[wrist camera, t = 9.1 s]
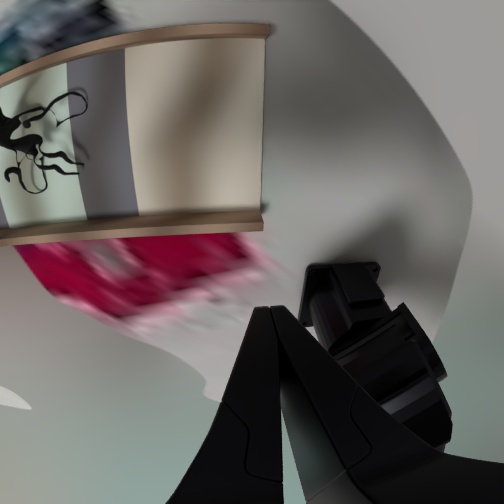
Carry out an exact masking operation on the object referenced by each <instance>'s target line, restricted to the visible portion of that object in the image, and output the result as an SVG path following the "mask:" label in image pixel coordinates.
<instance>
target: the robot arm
mask: <svg viewBox="0 0 504 504" xmlns="http://www.w3.org/2000/svg"><path fill="white" fill-rule="evenodd" d="M375 267H376V268H375ZM374 268H375V269H374ZM380 268H381V267H380V265H379V264H378V263H377V262H366V263H346V264H334V265H317V266H310V267H308V268H307V270H306V273H305V280H304V286H303V292H302V298H301V304H300V310H299V316H298V320H297V319H296V318H295V316H294V315H293V314H292V313H291V312H290V311H289V310H288V309H287V308H286V307H285V306H283V305H278V306H271V307H270V308H269V307H268V306H262V307H255V308H254V310H253V313H252V316H251V318H250V321H249V324H248V327H247V330H246V333H245V336H244V339H243V341H242V344H241V347H240V350H239V353H238V356H237V358H236V361H235V364H234V367H233V370H232V372H231V375H230V378H229V381H228V383H227V386H226V389H225V392H224V395H223V397H222V402H221V403H220V405H219V408H218V410H217V413H216V416H215V418H214V421H213V423H212V425H211V428H210V430H209V432H208V434H207V436H206V438H205V440H204V442H203V444H202V446H201V448H200V449H199V451H198V453H197V455H196V456H195V458H194V460H193V462H192V463H191V465H190V467H189V468H188V470H187V472H186V474H185V475H184V477H183V478H182V480H181V482H180V484H179V485H178V487H177V488H176V490H175V491H174V493H173V494H172V496H171V497H170V498H169V500H168V501H167V502H166V503H165V504H284V498H283V483H282V482H283V461H282V428H281V409H282V414H283V418H284V421H285V425H286V429H287V433H288V436H289V440H290V444H291V448H292V452H293V455H294V459H295V463H296V467H297V470H298V474H299V478H300V482H301V485H302V489H303V493H304V496H305V500H306V501H307V502H306V504H504V463H497V462H489V461H483V460H477V459H471V458H465V457H460V456H455V455H450V454H446V453H444V449H445V445H446V444H447V443H448V442H450V440H451V434H452V425H453V424H452V421H451V414H452V412H451V409H450V407H449V405H448V402H447V400H446V398H445V396H444V394H443V392H442V390H441V387H440V385H439V383H438V382H440V381H442V380H443V379H444V378H446V377H447V373H446V370H445V368H444V366H443V363H442V361H441V359H440V358H439V355H438V354H437V352H436V350H435V348H434V346H433V345H432V343H431V341H430V340H429V338H428V336H427V335H426V333H425V332H424V330H423V329H422V328H421V326H420V325H419V323H418V322H417V320H416V319H415V317H414V316H413V315H412V313H411V312H410V310H409V309H408V308H407V306H406V305H405V304H404V302H403V303H401V304H400V305H399V306H397V307H398V308H396V309H395V310H394V311H391V309H390V308H389V306H388V304H387V303H386V301H385V299H384V297H385V296H384V294H383V292H382V291H381V289H380V287H379V286H378V284H377V283H376V281H377V278H378V275H379V272H380ZM313 271H315V272H314V273H312V274H311V272H313ZM311 326H314V329H315V332H316V335H317V338H318V341H319V342H318V341H317V340H316V339H315V338H314V337H313V336H312V335H311V333H310V332H309V331H308V330H307V329H306V328H305V327H311Z"/></svg>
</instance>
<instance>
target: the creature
mask: <svg viewBox="0 0 504 504" xmlns="http://www.w3.org/2000/svg"><path fill="white" fill-rule="evenodd" d="M70 94H71V95H76V96H80V97H82V99H83V100H84V101H85V103H86V109H85V110H84V112H83V113H85V112H86V110H87V101H86V99H85V98H84V96H83V95H81V94H80V93H78V92H67V93H65V94H63V95H60V96H58V97H57V98H55V99H54V100H52V101H51V102H50V104H49V105H48V106H47V108H46V109H44V108H43V107H42V106H39V107H35V108H33V109H30V110H27V111H25V112H22V113H20V114H18V115H16V116H14V117H13V118H9V117H6V116H5V115H3V113H2V109H1V107H0V146H1V147H4V148H6V149H9V150H12V151H14V152H16V161H17V151H21V152H23V153H25V154H26V155H25V156H26V157H27V154H28V155H32V156H33V159H30V160H34V163H35V165H36V166H37V167H38V168H39V169H42V173H43V177H44V180H45V183H46V186H45V189H43V190H42V191H41V192H36V193H34V192H31V191H28V190H27V189H26V187H25V185H24V183H23V181H22V173H21V169H20V164H21V162H18V161H17V165H18V167H9V168H7V169H6V170H5V172H4V177H5V179H6V180H7V181H8V182H9V183H10V177H9V174H10V173H15V174H17V175H18V179H19V183H20V184H21V186H22V188H23V189H24V190H26V191H27V192H29V193H31V194H39V193H42V192H44V191H45V190H46V189H47V187H48V186H47V181H46V178H45V174H44V171H43V170H53V169H54V170H56V171H57V172H58V173H60V174H62V175H79V174H80V173H78V172H64V171H63V170H62V169H61V167H59V166H58V165H57V164H52V165H43V156H45V157H47V158H57V157H61V158H63V159H64V160H65V161H66V162H67V163H69V164H75V165H84V163H81V162H73V161H72V160H70V159H69V158H68V156H67V155H66V153H65V152H63V151H58V152H56V153H45V152H42V151H41V149H40V146H41V145H42V143H43V138H42V137H41V136H40V135H38V134H28V135H25V136H23V137H20V138H17V139H10V138H11V135H12V133H13V131H15V130H16V129H17V128H19V126H20V125H21V124H23V126H24V128H26V129H28V128H30V127H31V123H30V122H32V121H38V120H40V119H42V118H43V117H44V116H45V115H46V113H47V112H48V111H49V110H50V111H52V110H51V109H50V108H51V107H52V106H53V105H54V103H56V102H58V101H59V100H61V99H63V98H65V97H67V96H68V95H70ZM38 110H43V112H42V113H41V114H40V115H36V116H33V117H31V118H29V119H27V120H25V121H23V123H21V121H20V120H19V117H20V116H22V115H24V114H27V113H30V112H35V111H38ZM52 112H53V111H52ZM83 113H81V114H77V115H72V116H70V117H68V118H67V119H70V118H73V117H76V116H79V115H82V114H83ZM53 114H54V115H55V113H54V112H53ZM67 119H65V120H67ZM65 120H63V121H61V122H58V121H57V119H56V121H57V124H56V127H58V126H59V125H60V124H61V123H63V122H64V121H65ZM38 144H39V145H38ZM36 145H38V148H39V151H40V153H41V154H42V155H43V156H42V157H41V158H39V160H40V161H41V165H39V164H36V162H35V158H36V156H37V155H38V150H37V148H36ZM25 156H24V157H25ZM27 159H29V158H28V157H27ZM22 160H23V159H22ZM22 160H21V161H22Z"/></svg>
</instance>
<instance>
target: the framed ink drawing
mask: <svg viewBox="0 0 504 504" xmlns="http://www.w3.org/2000/svg"><path fill="white" fill-rule="evenodd" d="M269 35H270V25H269V24H246V23H219V24H196V25H183V26H173V27H164V28H156V29H149V30H143V31H137V32H132V33H126V34H121V35H117V36H112V37H108V38H103V39H99V40H95V41H92V42H88V43H84V44H81V45H77V46H74V47H71V48H68V49H65V50H62V51H59V52H56V53H53V54H50V55H47V56H45V57H42V58H39V59H37V60H34V61H32V62H29V63H27V64H25V65H22V66H20V67H18V68H16V69H13V70H11V71H9V72H7V73H5V74H3V75H1V76H0V107H1V109H2V113H3V115H5V116H6V117H9V118H13V117H14V116H16V115H18V114H20V113H22V112H25V111H27V110H30V109H33V108H35V107H39V106H42V107H43V108H44V109H46V108H47V106H48V105H49V104H50V102H51V101H52V100H54V99H55V98H57V97H58V96H60V95H63V94H65V93H67V92H78V93H80V94H81V95H83V96H84V98H85V99H86V101H87V110H86V112H85V113H83V112H84V110H85V109H86V103H85V101H84V100H83V99H82V97H80V96H76V95H71V94H70V95H68V96H67V97H65V98H63V99H61V100H59V101H58V102H56V103H54V105H53V106H52V107H51V108H50V109H51V110H52V111H53V112H54V113H55V115H54V114H53V112H52V111H50V110H49V111H48V112H47V113H46V115H45V116H44V117H43V118H42V119H40V120H38V121H32V122H30V123H31V127H30V128H28V129H26V128H24V126H23V124H21V125H20V126H19V128H17V129H16V130H15V131H13V133H12V135H11V138H10V139H17V138H20V137H23V136H25V135H28V134H38V135H40V136H41V137H42V138H43V143H42V145H41V146H40V149H41V151H42V152H45V153H56V152H58V151H63V152H65V153H66V155H67V156H68V158H69V159H70V160H72V161H73V162H81V163H84V165H75V164H69V163H67V162H66V161H65V160H64V159H63V158H61V157H57V158H47V157H45V156H43V155H42V154H41V153H40V151H39V148H38V145H39V144H38V145H36V148H37V150H38V155H37V156H36V158H35V162H36V164H39V165H41V161H40V160H39V158H41V157H42V156H43V165H52V164H57V165H58V166H59V167H61V169H62V170H63V171H64V172H78V173H80V174H79V175H62V174H60V173H58V172H57V171H56V170H54V169H53V170H43V171H44V174H45V178H46V181H47V186H48V187H47V189H46V190H45V191H44V192H42V193H39V194H31V193H29V192H27V191H26V190H24V189H23V188H22V186H21V184H20V183H19V179H18V175H17V174H15V173H10V174H9V177H10V183H9V182H8V181H7V180H6V179H5V177H4V172H5V170H6V169H7V168H9V167H18V165H17V161H18V162H21V164H20V169H21V173H22V181H23V183H24V185H25V187H26V189H27V190H28V191H31V192H34V193H36V192H41V191H42V190H43V189H45V186H46V183H45V180H44V177H43V173H42V169H39V168H38V167H37V166H36V165H35V163H34V160H30V159H33V156H32V155H28V154H27V157H28V158H29V159H27V157H26V156H25V155H26V154H25V153H23V152H21V151H17V161H16V152H14V151H12V150H9V149H6V148H4V147H1V146H0V246H8V245H21V244H33V243H47V242H60V241H74V240H89V239H105V238H122V237H140V236H158V235H179V234H201V233H225V232H252V231H263V224H264V222H263V219H262V216H261V212H260V195H261V164H262V132H263V97H264V58H265V39H266V38H267V37H268V36H269ZM42 112H43V110H38V111H35V112H30V113H27V114H24V115H22V116H20V117H19V120H20V121H21V123H23V121H25V120H27V119H29V118H31V117H33V116H36V115H40V114H41V113H42ZM81 113H83V114H82V115H79V116H76V117H73V118H70V119H67V118H68V117H70V116H72V115H77V114H81ZM56 119H57V121H58V122H61V121H63V120H65V119H67V120H65V121H64V122H63V123H61V124H60V125H59V126H58V127H56V124H57V121H56ZM24 156H25V157H24ZM22 159H23V160H22ZM21 160H22V161H21Z"/></svg>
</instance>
